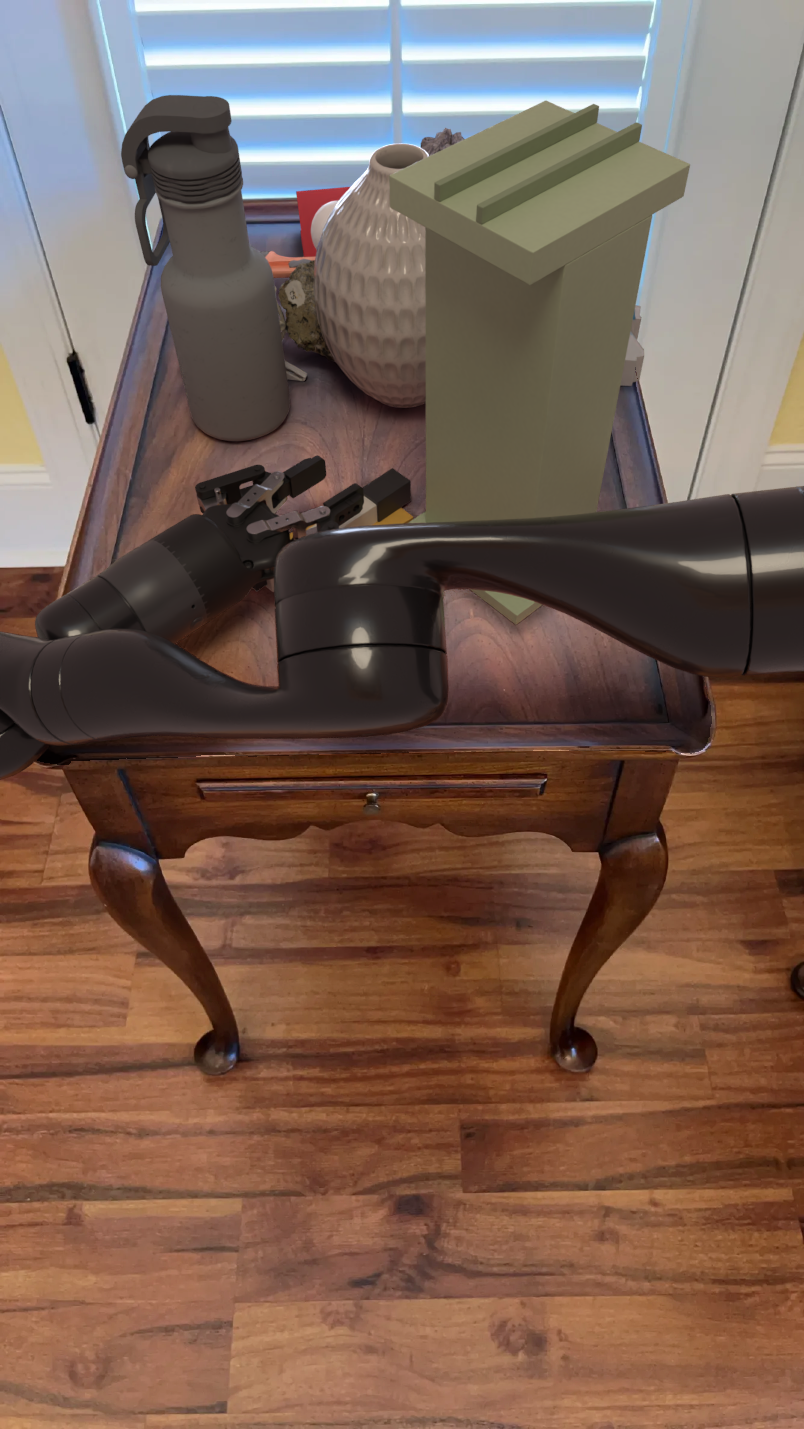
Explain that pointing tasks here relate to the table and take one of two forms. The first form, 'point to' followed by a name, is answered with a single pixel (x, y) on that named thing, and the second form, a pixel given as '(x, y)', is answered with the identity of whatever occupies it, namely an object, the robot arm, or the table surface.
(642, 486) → the table surface
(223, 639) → the table surface
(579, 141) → the green railed pedestal
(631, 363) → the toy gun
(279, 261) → the utility knife
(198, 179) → the water bottle
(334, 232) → the vase
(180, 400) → the table surface
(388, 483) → the marker
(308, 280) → the rock
